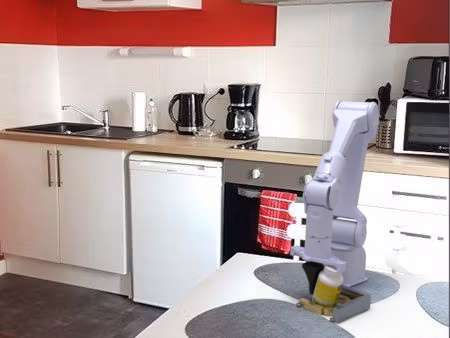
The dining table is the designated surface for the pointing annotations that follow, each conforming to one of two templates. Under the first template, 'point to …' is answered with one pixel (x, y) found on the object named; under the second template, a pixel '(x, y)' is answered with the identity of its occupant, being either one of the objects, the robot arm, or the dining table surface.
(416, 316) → the dining table surface
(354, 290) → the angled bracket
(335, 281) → the supplement bottle
